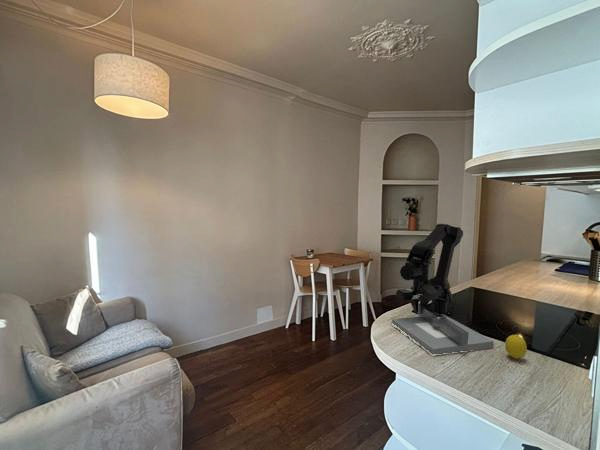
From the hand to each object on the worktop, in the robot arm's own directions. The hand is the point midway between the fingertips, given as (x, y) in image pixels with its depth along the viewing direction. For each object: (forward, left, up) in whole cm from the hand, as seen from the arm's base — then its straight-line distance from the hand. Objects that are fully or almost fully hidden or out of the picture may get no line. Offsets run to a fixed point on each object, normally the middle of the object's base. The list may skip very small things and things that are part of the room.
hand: (419, 313), depth 121 cm
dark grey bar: (0, +12, 0) cm, 12 cm away
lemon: (-13, +31, -4) cm, 34 cm away
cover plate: (0, +12, -4) cm, 13 cm away
